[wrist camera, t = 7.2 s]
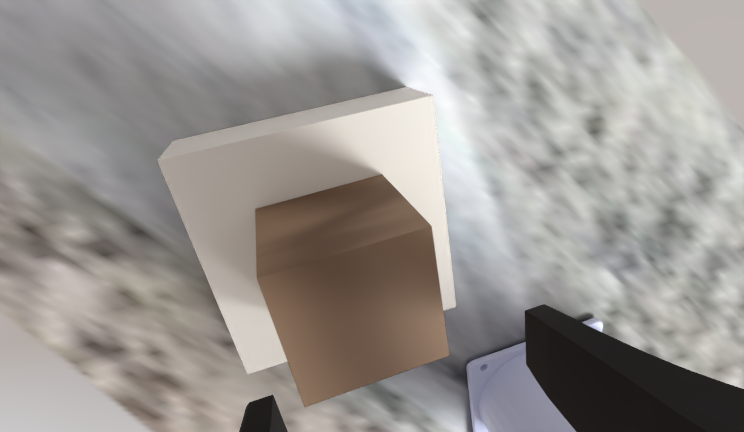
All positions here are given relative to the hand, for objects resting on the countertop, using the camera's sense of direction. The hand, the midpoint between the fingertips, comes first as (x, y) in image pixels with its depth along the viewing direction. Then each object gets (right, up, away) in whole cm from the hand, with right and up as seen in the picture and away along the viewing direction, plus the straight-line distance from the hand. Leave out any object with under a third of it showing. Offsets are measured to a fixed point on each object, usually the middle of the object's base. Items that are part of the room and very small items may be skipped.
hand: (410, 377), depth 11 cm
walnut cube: (-3, +3, +6) cm, 7 cm away
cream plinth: (-3, +4, +9) cm, 10 cm away
